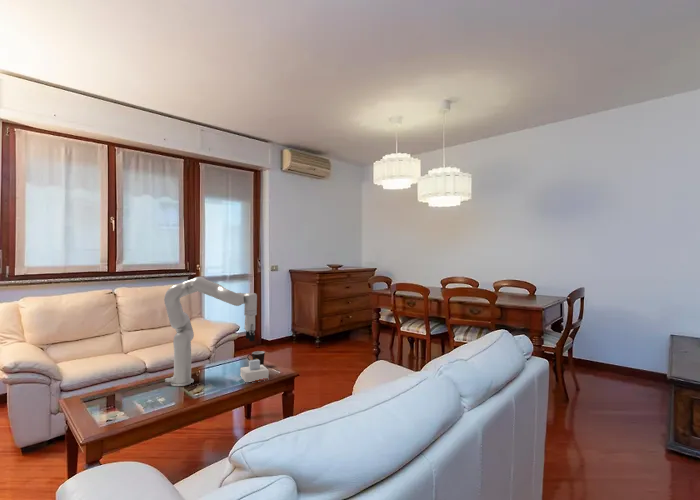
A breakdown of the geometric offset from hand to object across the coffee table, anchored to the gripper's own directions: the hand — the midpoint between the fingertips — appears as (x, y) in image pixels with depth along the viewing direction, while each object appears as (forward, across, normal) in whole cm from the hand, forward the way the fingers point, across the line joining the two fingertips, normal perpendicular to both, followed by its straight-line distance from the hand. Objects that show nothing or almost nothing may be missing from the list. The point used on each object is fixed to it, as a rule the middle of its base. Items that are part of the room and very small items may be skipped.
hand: (250, 339), depth 229 cm
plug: (+22, +3, +2) cm, 23 cm away
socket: (+24, +3, +2) cm, 24 cm away
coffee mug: (+24, -22, +10) cm, 34 cm away
